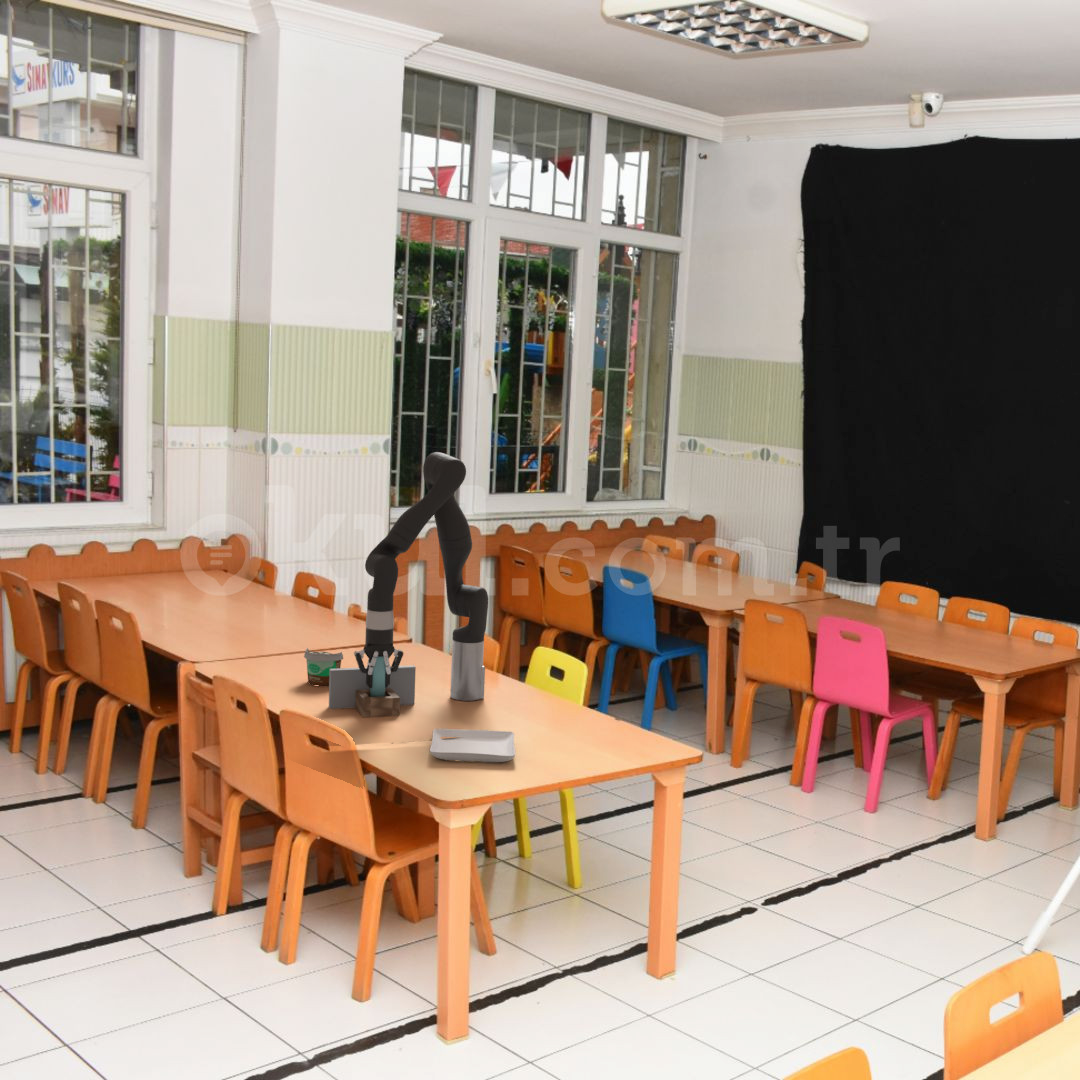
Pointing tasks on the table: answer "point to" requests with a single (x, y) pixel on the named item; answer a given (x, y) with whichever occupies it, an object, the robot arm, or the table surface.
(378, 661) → the teal rounded bar piece
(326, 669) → the food container
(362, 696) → the block
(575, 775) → the table surface
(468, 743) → the salad plate
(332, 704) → the backstop wall
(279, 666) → the table surface
